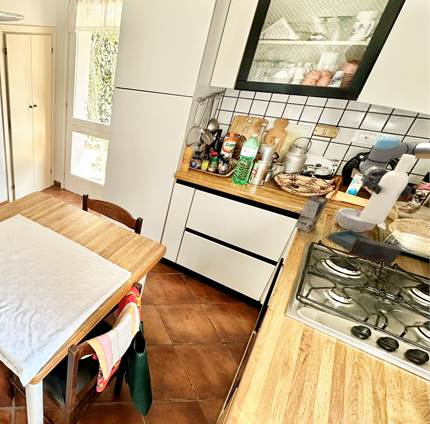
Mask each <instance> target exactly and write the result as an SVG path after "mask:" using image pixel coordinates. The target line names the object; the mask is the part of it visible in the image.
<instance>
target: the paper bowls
mask: <svg viewBox="0 0 430 424" xmlns="http://www.w3.org/2000/svg"><path fill="white" fill-rule="evenodd" d="M362 211H363V210H361V209H357V208H352V207H351V208H350V207H342V208H340V209H338V211H337V213H336V215H335V216H334V219H335V221H336V222H338V223H337V224H338V225H339V227H341V228H342V229H344V230H349V229H350V230H352V231H355V232H357V233H363V232H366V231H372V230H374V229H375V227H376V225H377V224H372V223H368V222H365V221H363V220H362V219H360V217H359V216H360V215H361V212H362Z"/></svg>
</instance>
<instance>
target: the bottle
mask: <svg viewBox="0 0 430 424" xmlns="http://www.w3.org/2000/svg"><path fill="white" fill-rule="evenodd" d="M415 158H416V157H415V156H413V155H408V154H404V155H403V156H402V157H401V158H399V159H400V160H399V161H398V162H397V164H396V165H395V167H394V170H391V171H388V173H386V174H385V175H384V176H383V177H382V179H381V180H380V182H379V184H378V185H379V186H380V187H381V188H382V189H381V191H380V193H379V194H376V193H375V192H374V191H373V192H372V194H371V196H370V197H369V200H368V201H367V203H366V204H365V206H364V208H363V210H361V211H362V212H361V215H360V216H359V217H360V219H362V220H363V221H365V222H368V223H372V224H376V225H383V223H384V222H385V221H386V219H387V217H388V215H389V214H390V212H391V211H392V209H393V207H394V206H395V204H396V203H397V201H398V199H399V198H400V197H401V196H400V195H401V193H402V191H403V190H404V188H405V187H406V185H408V184H409V180H410V179H409V178H410V177H409V175H408V173H407V172H408V171H409V169H410V168H411V166H412V164H413V162H415V160H416V159H415Z"/></svg>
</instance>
